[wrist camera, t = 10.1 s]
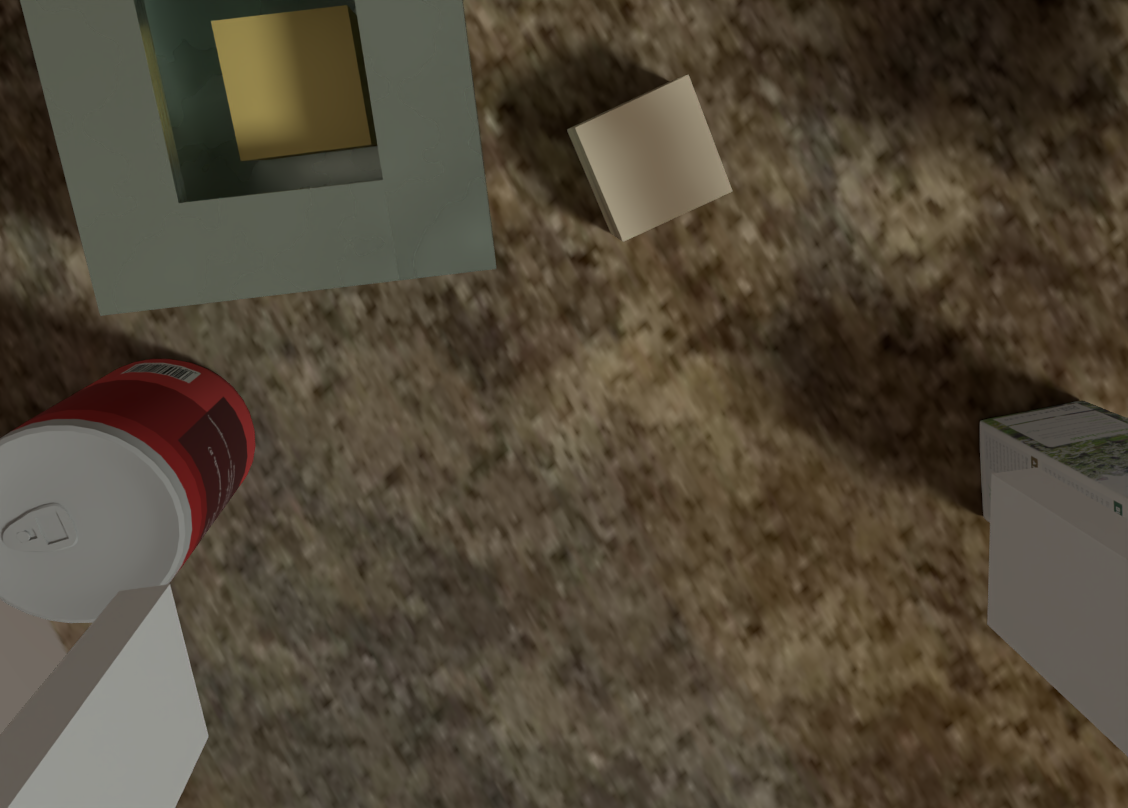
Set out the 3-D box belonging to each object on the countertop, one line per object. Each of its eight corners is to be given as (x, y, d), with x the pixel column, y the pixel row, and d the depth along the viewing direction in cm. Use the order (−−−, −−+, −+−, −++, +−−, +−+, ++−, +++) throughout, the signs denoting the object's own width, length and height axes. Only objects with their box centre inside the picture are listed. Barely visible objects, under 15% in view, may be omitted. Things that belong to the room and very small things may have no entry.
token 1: (361, 20, 37) (347, 5, 33) (382, 145, 38) (371, 144, 35) (239, 34, 37) (210, 21, 33) (265, 160, 38) (240, 161, 34)
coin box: (450, -97, 37) (439, -172, 28) (493, 244, 41) (496, 268, 32) (104, -64, 36) (-14, -131, 28) (182, 280, 40) (100, 315, 32)
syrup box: (980, 521, 47) (1188, 676, 33) (975, 414, 45) (1191, 531, 31) (1085, 500, 47) (1336, 646, 33) (1084, 393, 46) (1347, 499, 32)
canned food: (48, 410, 41) (-101, 499, 31) (193, 320, 41) (92, 380, 30) (154, 539, 43) (48, 664, 33) (292, 456, 43) (230, 555, 32)
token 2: (668, 81, 40) (688, 74, 36) (709, 187, 41) (732, 191, 37) (566, 129, 40) (574, 127, 36) (610, 233, 41) (622, 241, 38)
